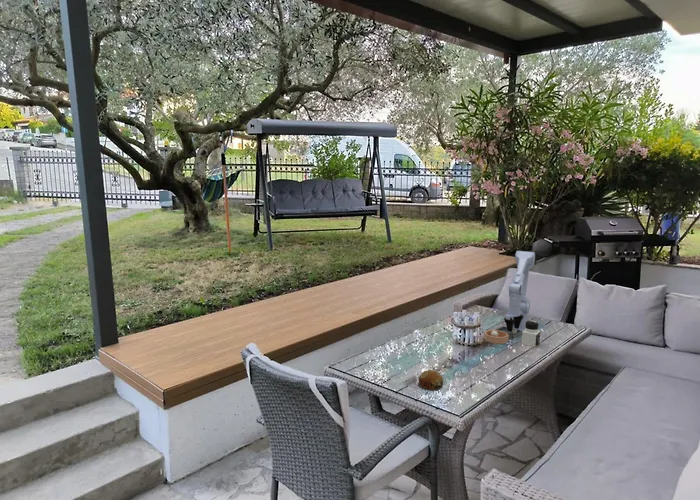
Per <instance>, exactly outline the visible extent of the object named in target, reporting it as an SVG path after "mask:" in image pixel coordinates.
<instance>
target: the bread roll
mask: <svg viewBox="0 0 700 500" xmlns="http://www.w3.org/2000/svg"><path fill="white" fill-rule="evenodd" d="M443 378H444V377H443V375H442V374H441V373H440V372H439V371H436V370H434V369H426V370H424V371H423V372H421V374H420V375H419V377H418V384H419V385H420V386H421V388H423V389H426V390H428V391H434V390H435V391H436V390H440V389H441V388H442V387H443V385H444V379H443Z"/></svg>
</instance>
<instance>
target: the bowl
mask: <svg viewBox="0 0 700 500" xmlns="http://www.w3.org/2000/svg"><path fill="white" fill-rule="evenodd" d="M492 331H497V332H498V337H493V336H491V332H492ZM483 340H484V341H485V342H488V343H492V344H497V345H498V344H499V345H500V344H501V345H502V344H503V345H504V344H506V343H508V342H509V340H510V339H509V335H508V334H507V333H506V332H503V331H499V330H495V329H487V330H486V331H484V332H483Z"/></svg>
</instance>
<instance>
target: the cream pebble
mask: <svg viewBox="0 0 700 500" xmlns="http://www.w3.org/2000/svg"><path fill="white" fill-rule="evenodd" d="M491 336H493V337H498V332H497V331H492V332H491Z"/></svg>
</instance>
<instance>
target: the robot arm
mask: <svg viewBox="0 0 700 500" xmlns="http://www.w3.org/2000/svg"><path fill="white" fill-rule="evenodd" d="M514 258H515V264H516V266H517V269H516V272H514V273H513V277H512V279H511V283H509V286H508V297H509V300H508V301H509V303H508V311H506V315H505V317H504V318H503V321H504V323H505V324H506V327H507V330H508V331H509V332H512V329H513V328H514V329H517V330H521V331H524V330H525V326H526V322H527V321H529V313H530V309H531V307H530V306H531V305H530V304H531V300H530V299H529V298H527V296H526V295H527V288H528V281H529V274H530V269H532V268H534V265H535V261H536V253H535V252H534V251H524V250H523V251H522V250H516V252H515V257H514Z"/></svg>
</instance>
